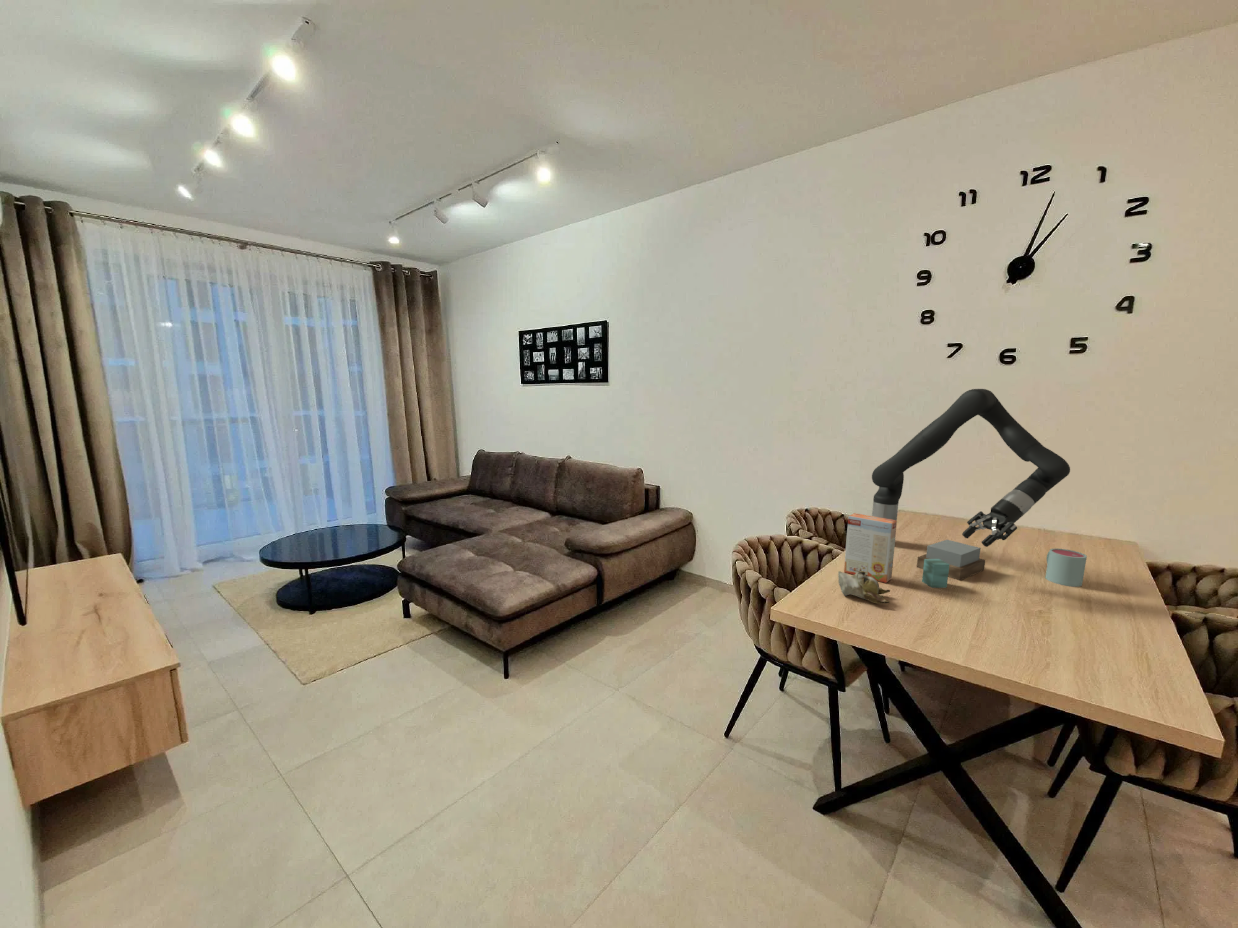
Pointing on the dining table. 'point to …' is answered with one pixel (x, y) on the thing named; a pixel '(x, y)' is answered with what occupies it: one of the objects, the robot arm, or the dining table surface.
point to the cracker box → (870, 546)
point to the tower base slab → (958, 568)
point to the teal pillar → (935, 573)
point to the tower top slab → (953, 553)
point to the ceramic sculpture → (862, 587)
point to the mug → (1065, 567)
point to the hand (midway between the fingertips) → (973, 540)
